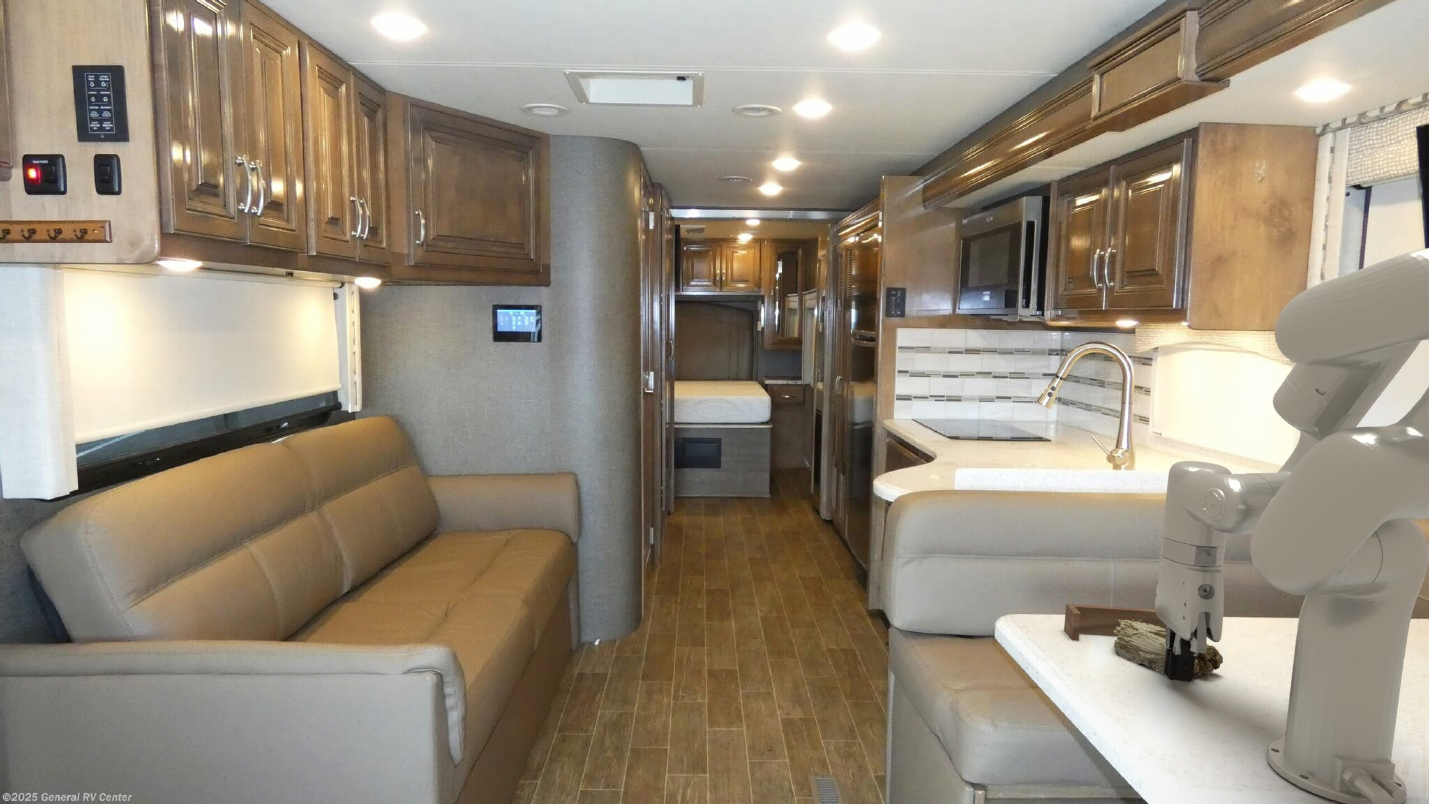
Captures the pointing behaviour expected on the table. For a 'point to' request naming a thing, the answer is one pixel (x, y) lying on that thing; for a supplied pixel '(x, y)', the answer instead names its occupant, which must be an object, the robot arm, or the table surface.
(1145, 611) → the stand
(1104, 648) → the table surface
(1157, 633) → the beige fibrous lump
